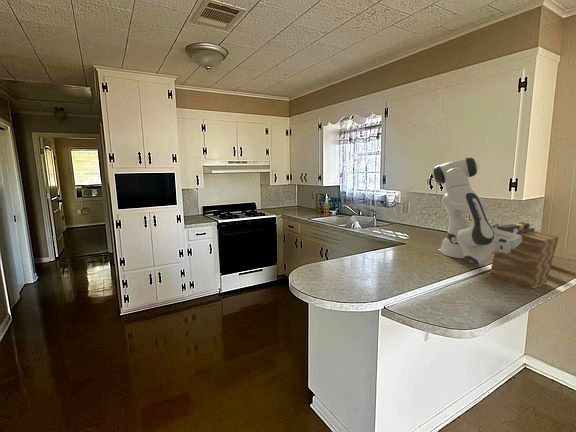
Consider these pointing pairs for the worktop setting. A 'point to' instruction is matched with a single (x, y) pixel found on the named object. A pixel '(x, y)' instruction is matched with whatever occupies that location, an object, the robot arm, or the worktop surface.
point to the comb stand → (526, 259)
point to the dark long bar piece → (517, 225)
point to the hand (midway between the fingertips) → (506, 227)
